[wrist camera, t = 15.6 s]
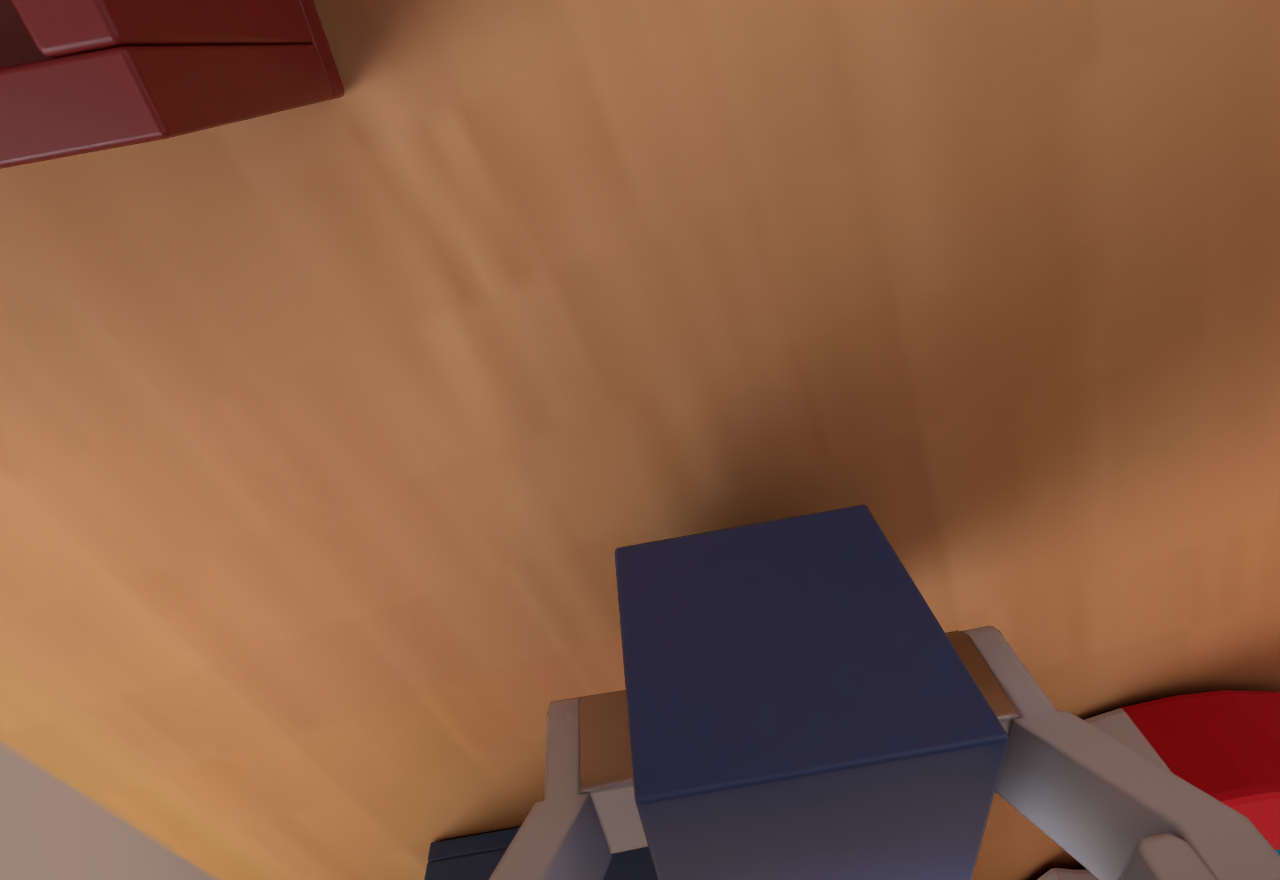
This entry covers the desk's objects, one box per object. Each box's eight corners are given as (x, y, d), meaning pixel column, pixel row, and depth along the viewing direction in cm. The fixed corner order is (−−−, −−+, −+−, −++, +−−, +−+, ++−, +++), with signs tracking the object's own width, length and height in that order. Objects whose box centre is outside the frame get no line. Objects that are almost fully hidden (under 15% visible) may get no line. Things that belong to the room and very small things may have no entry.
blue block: (613, 547, 11) (633, 802, 8) (866, 502, 11) (1012, 737, 7) (650, 703, 14) (678, 956, 10) (858, 667, 14) (965, 907, 10)
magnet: (1376, 975, 20) (1043, 1016, 21) (1296, 879, 23) (1000, 918, 23) (1568, 750, 14) (1093, 819, 15) (1432, 650, 17) (1029, 715, 17)
